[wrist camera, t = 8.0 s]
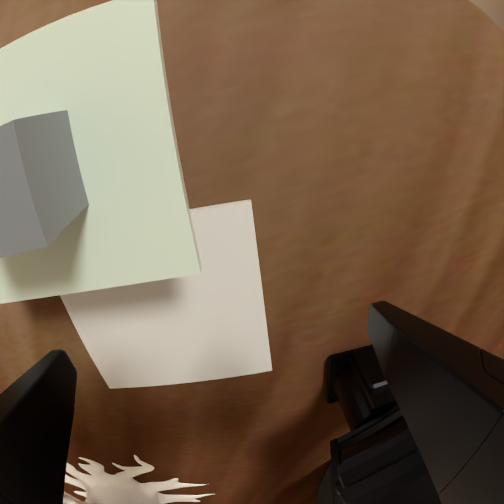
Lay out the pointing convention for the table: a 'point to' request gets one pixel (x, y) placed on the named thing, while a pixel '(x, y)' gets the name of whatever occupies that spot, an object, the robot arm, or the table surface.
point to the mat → (183, 313)
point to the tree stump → (123, 486)
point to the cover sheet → (90, 158)
